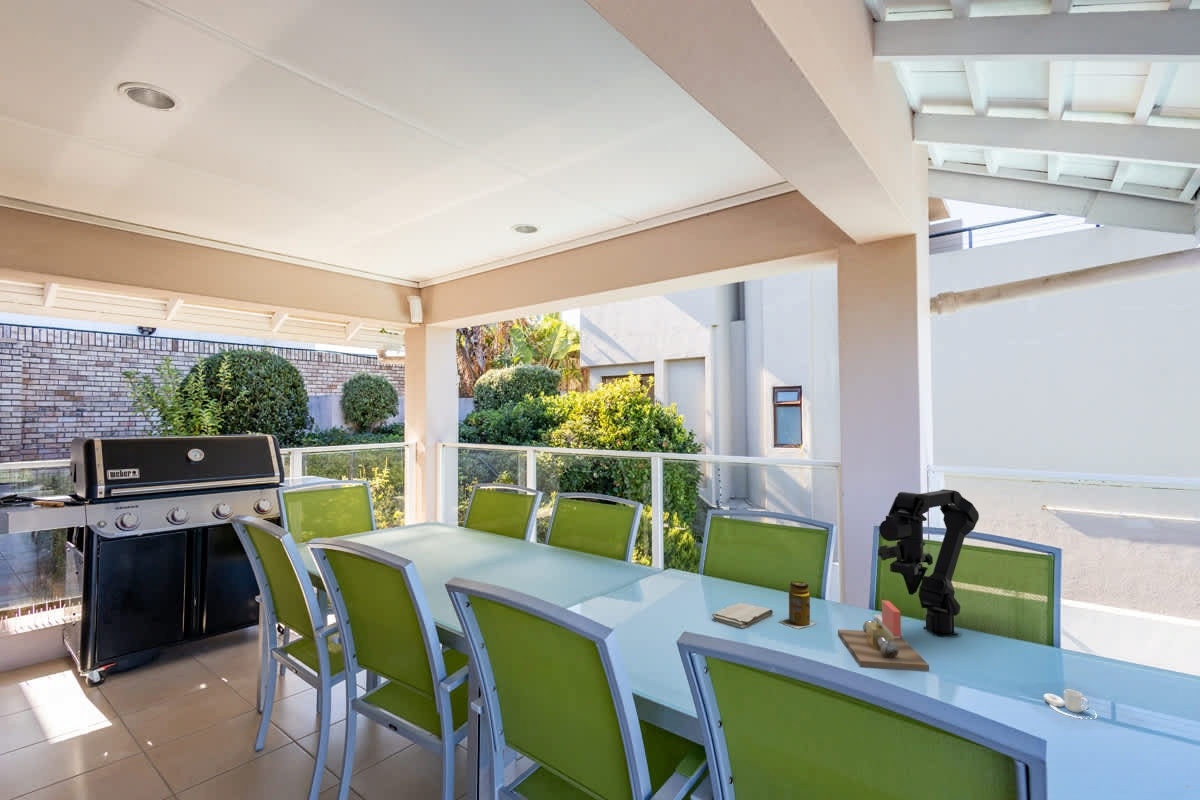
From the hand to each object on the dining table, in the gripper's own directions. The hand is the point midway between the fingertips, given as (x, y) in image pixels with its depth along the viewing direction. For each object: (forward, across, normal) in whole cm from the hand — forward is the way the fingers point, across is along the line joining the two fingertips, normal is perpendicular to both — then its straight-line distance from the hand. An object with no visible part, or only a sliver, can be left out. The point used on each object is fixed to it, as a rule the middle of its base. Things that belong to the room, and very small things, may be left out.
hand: (912, 593), depth 163 cm
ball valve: (+11, +15, -4) cm, 19 cm away
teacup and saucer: (+14, +16, +36) cm, 41 cm away
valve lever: (+5, +20, -1) cm, 20 cm away
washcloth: (+14, +16, -44) cm, 49 cm away
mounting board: (+13, +14, -4) cm, 20 cm away
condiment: (+13, +9, -30) cm, 34 cm away
